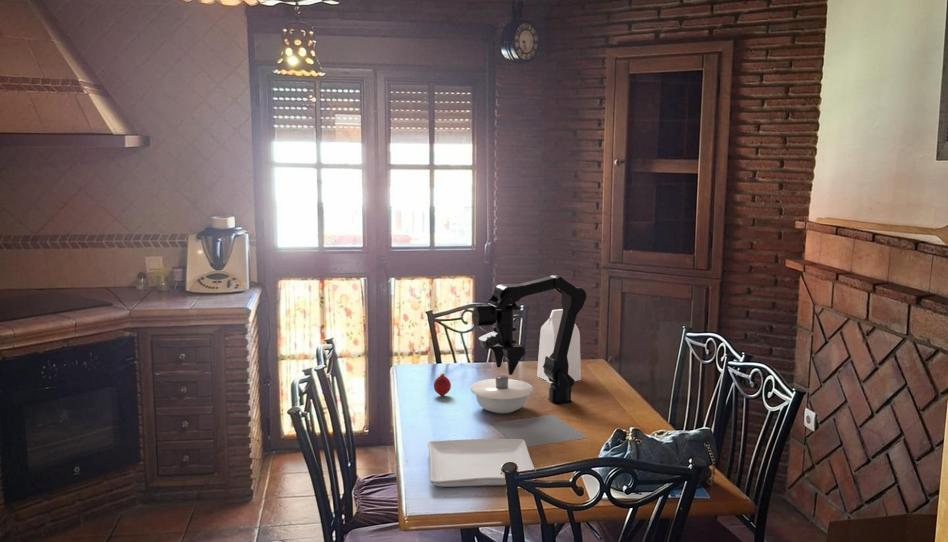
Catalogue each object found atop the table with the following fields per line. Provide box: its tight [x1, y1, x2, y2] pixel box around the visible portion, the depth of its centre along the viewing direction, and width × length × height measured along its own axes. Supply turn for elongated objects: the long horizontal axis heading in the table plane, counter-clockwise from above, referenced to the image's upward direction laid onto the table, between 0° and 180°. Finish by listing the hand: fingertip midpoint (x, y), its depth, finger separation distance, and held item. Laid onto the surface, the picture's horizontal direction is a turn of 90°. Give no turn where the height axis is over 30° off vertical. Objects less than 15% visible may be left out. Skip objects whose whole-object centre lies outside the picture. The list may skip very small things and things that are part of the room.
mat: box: [489, 414, 588, 448], centre depth 247 cm, size 22×22×1 cm
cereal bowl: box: [475, 395, 528, 414], centre depth 266 cm, size 17×17×7 cm
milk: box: [536, 308, 582, 384], centre depth 300 cm, size 12×12×26 cm
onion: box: [433, 372, 452, 397], centre depth 280 cm, size 6×6×8 cm
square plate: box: [427, 438, 536, 488], centre depth 218 cm, size 27×27×4 cm
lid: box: [470, 374, 534, 400], centre depth 265 cm, size 20×20×4 cm
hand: (504, 370), depth 266 cm, fingers open, 9 cm apart
